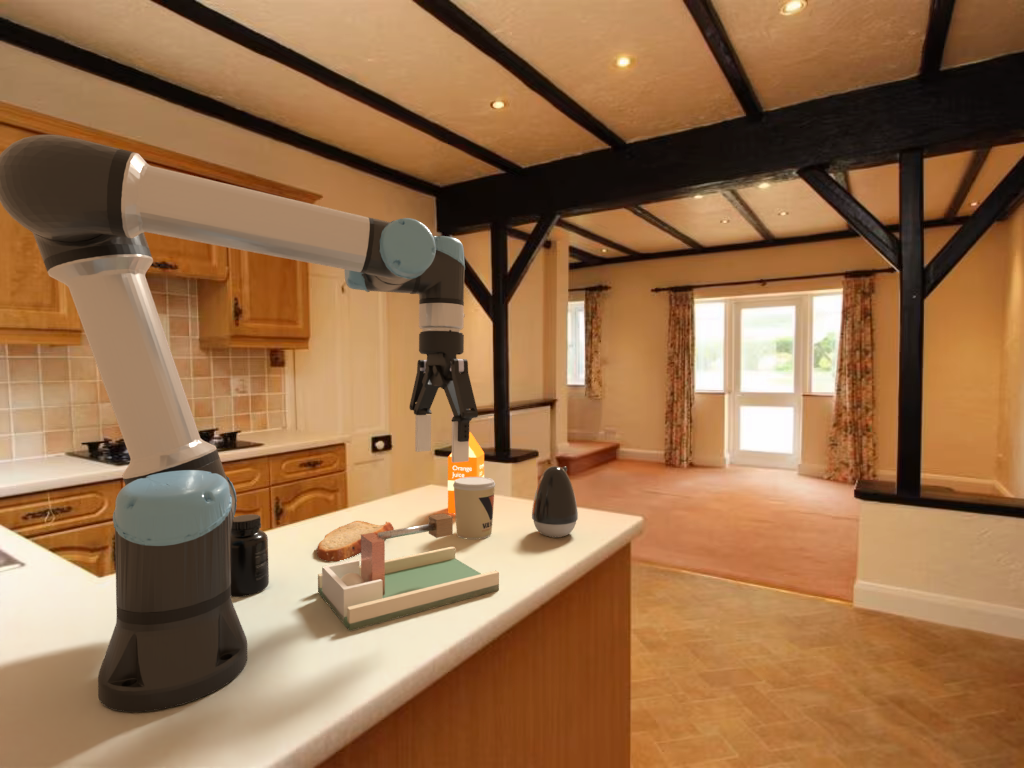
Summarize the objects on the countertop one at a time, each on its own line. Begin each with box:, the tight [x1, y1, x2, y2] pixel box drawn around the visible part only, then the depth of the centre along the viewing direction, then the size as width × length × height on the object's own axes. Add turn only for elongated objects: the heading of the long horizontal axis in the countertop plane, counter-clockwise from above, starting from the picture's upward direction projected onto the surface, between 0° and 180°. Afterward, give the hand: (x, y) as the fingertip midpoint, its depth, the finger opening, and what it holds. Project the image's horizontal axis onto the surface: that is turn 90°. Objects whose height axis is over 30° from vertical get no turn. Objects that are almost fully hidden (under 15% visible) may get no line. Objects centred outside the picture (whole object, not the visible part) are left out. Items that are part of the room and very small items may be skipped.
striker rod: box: [360, 513, 454, 595], centre depth 90 cm, size 14×5×10 cm, turn 125°
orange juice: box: [447, 431, 485, 514], centre depth 142 cm, size 8×9×20 cm
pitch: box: [317, 546, 500, 632], centre depth 90 cm, size 25×16×5 cm, turn 125°
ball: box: [341, 573, 364, 586], centre depth 84 cm, size 4×4×4 cm
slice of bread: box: [316, 520, 395, 562], centre depth 115 cm, size 18×18×4 cm
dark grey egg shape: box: [531, 465, 579, 538], centre depth 121 cm, size 10×10×15 cm
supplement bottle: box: [231, 513, 270, 598], centre depth 90 cm, size 7×7×12 cm
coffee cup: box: [453, 476, 496, 540], centre depth 121 cm, size 9×9×12 cm
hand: (440, 456), depth 93 cm, fingers open, 13 cm apart
